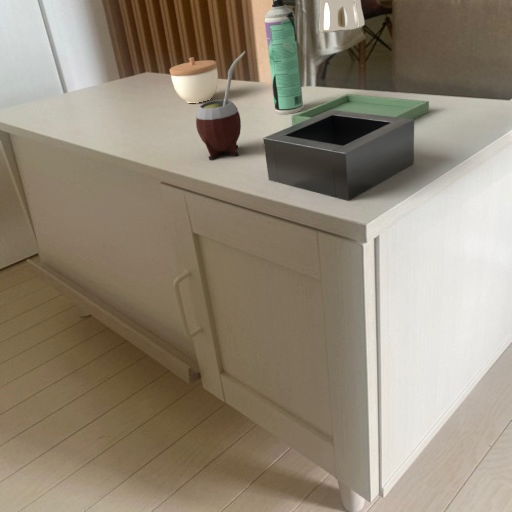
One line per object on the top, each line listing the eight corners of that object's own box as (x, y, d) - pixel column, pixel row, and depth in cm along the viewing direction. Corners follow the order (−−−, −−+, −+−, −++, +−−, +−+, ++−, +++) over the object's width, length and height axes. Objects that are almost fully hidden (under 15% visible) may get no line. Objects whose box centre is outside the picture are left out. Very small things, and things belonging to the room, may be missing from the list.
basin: (414, 163, 73) (414, 119, 70) (348, 200, 65) (345, 153, 62) (333, 148, 82) (331, 109, 79) (268, 179, 75) (262, 137, 72)
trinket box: (179, 109, 119) (170, 65, 114) (174, 99, 128) (165, 58, 124) (226, 100, 120) (219, 56, 116) (218, 91, 130) (211, 50, 125)
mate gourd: (193, 158, 88) (174, 62, 80) (227, 142, 92) (212, 51, 85) (226, 163, 83) (208, 62, 76) (259, 147, 88) (246, 50, 80)
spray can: (305, 105, 107) (295, -6, 98) (300, 113, 103) (290, -3, 93) (278, 107, 109) (265, -2, 99) (272, 115, 104) (259, 1, 94)
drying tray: (428, 111, 92) (429, 101, 91) (373, 138, 84) (373, 127, 83) (347, 103, 104) (347, 93, 103) (292, 126, 96) (291, 116, 95)
